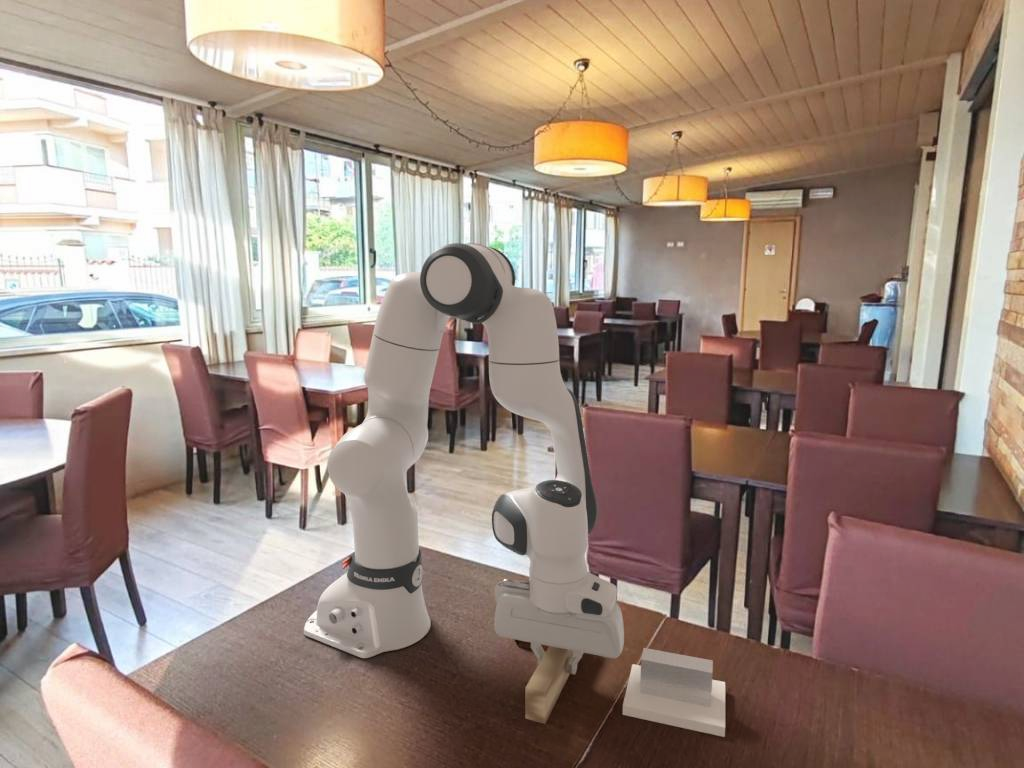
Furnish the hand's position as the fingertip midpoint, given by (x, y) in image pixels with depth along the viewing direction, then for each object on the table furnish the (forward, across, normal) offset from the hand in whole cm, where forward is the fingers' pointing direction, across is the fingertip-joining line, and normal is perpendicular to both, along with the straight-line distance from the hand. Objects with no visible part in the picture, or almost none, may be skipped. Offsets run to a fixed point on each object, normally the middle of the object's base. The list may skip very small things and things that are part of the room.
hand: (557, 668), depth 97 cm
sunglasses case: (+2, -4, +15) cm, 16 cm away
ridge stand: (+2, +18, 0) cm, 18 cm away
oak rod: (+2, 0, 0) cm, 2 cm away
